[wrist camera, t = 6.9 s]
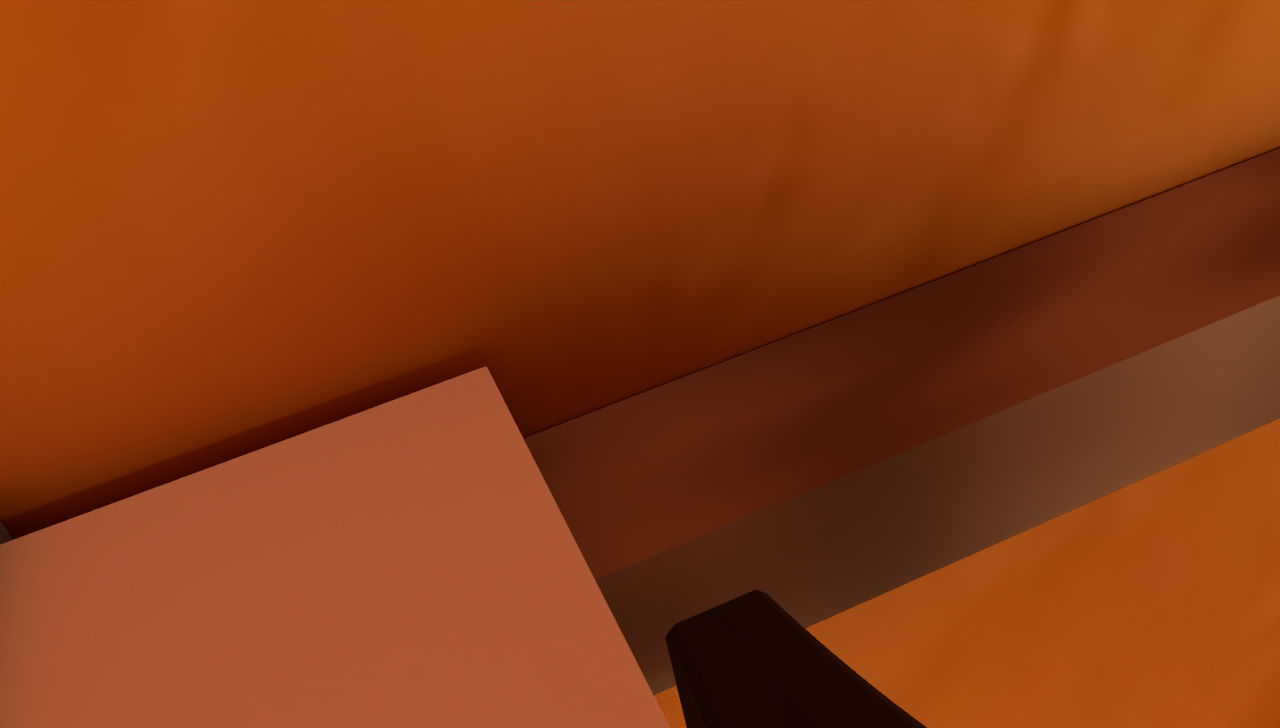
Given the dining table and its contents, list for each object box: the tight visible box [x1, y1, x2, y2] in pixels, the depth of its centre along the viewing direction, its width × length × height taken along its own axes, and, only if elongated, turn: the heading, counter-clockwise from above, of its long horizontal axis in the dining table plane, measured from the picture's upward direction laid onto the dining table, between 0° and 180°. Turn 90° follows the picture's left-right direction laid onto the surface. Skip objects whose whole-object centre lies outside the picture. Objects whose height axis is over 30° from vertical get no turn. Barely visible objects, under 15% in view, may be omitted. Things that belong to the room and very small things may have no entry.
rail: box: [0, 148, 1280, 695], centre depth 12 cm, size 20×6×6 cm, turn 100°
